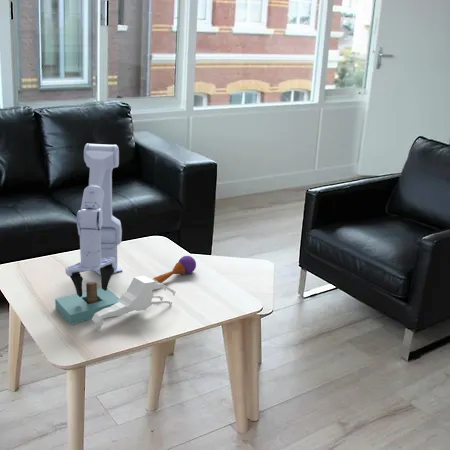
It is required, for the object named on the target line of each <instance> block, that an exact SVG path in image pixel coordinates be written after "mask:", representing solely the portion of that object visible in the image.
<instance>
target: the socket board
mask: <svg viewBox="0 0 450 450" xmlns="http://www.w3.org/2000/svg"><path fill="white" fill-rule="evenodd" d="M119 299H120V297H119V296H118V295H116V294H115V293H114V292H113V291H112V290H111V289H110V288H108V287H107V290H106V291H104V290H103V289H102V287H97V302H95V303H92V304H87V293H86V291H82V297H79V296H78V295H77V293H73V294H69V295H65V296H62V297H61V296H60V297H57V298H54V302H55V303H54V304H55V309H56V310H57V311H58V312H59V314H60V315H61V316H62V317H63V318H64V319H65V320H66V321H67V322H68V324H69V325H74V324H78V323H82V322H85V321H88V320H92V318H93V316H94V314H95V313H96V312H98V311H100V310H102V309H104V308H108V307H111V306H112V305H114V304H116V303H118V300H119Z"/></svg>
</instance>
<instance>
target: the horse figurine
mask: <svg viewBox="0 0 450 450" xmlns="http://www.w3.org/2000/svg"><path fill="white" fill-rule="evenodd" d="M162 288H163V289H164V291H166V290H167V291H169V292H170V293H172V294H173V296H175V294H176V292H177V291H176V290H173V289H171V288H170V287H169V286H167V285H165V284H164V283H163V282H162V283H159V282H158V281H157V280H155V279H152V278H150V277H148V276H146V275H141V276H140V275H139V276H135V277H133V278H132V280H131V282H130V284H129V286H128V288H127V289H126V291H125V292H124V293H122V294H121V296H120V297H119V300H118V303H116V304H114V305H112V306H111V307H108V308H104V309H102V310H100V311H98V312H96V313H95V314H94V316H93V318H92V319H91V320H92V323H93V325H94V327H95V329H96V330H98V331H101V330H102V327H103V326H104V319H106V318H109V317H117V316H118V317H119V316H123V315H126V314H129V313H131V312H134V311H135V312H140V311H141V312H142V311H146V310H147V309H148V308H150V307H151V306H152V305H160V304H168V305H169V307H171V306H172V304H173V301H169V300H163V299H164V296H161V295H154V292H153V291H154V290H158V289H162ZM153 299H160V300H153ZM152 300H153V301H152Z"/></svg>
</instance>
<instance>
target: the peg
mask: <svg viewBox="0 0 450 450" xmlns="http://www.w3.org/2000/svg"><path fill="white" fill-rule="evenodd" d="M85 286H86V288H85V289H86V293H87V304H92V303H95V302H97V288H98V284H97V282H96V281H88V282H86V285H85Z"/></svg>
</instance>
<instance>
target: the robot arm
mask: <svg viewBox="0 0 450 450" xmlns="http://www.w3.org/2000/svg"><path fill="white" fill-rule="evenodd" d="M119 149H120V148H119V146H118V145H117V144H106V143H105V144H102V143H101V144H100V143H90V142H89V143H86V144H85V145H84V149H83V160H84V163H85V166H86V167H87V168H89V175H88V176H89V177H88V185H87V186H86V187H85V188H84V190H83V194H82V200H81V206H80V209H79V210H78V211H77V213H76V227H77V234H78V236H79V246H80V247H79V250H80V251H79V252H80V253H79V254H80V262H76V263H75V264H73V265H70V266H67V267H65V274H66V275H67V276H68V277H70V279H71V282H72V283H73V285H74V288H75V293H76V294H77V295H78V296H79V297H82V292H83V280H84V277H82V275H81V273H84V272H90V271H93V272H95V273H97V275H99V276H100V286H101V287H102V289H103V290H104V291H106V290H107V288H108V285H109V283H110V280H111V277H112V276H113V274H116V273H120V272H123V268H121V267H120V266H119V265H118V245H119V246H120V244H121V243H122V239H123V238H122V237H123V228H122V223H121V220H120V219H118V218H117V217H116V216H114V215H113V178H112V177H113V169H115V168H118V167H119V165H120V150H119ZM101 287H100V288H101Z"/></svg>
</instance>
